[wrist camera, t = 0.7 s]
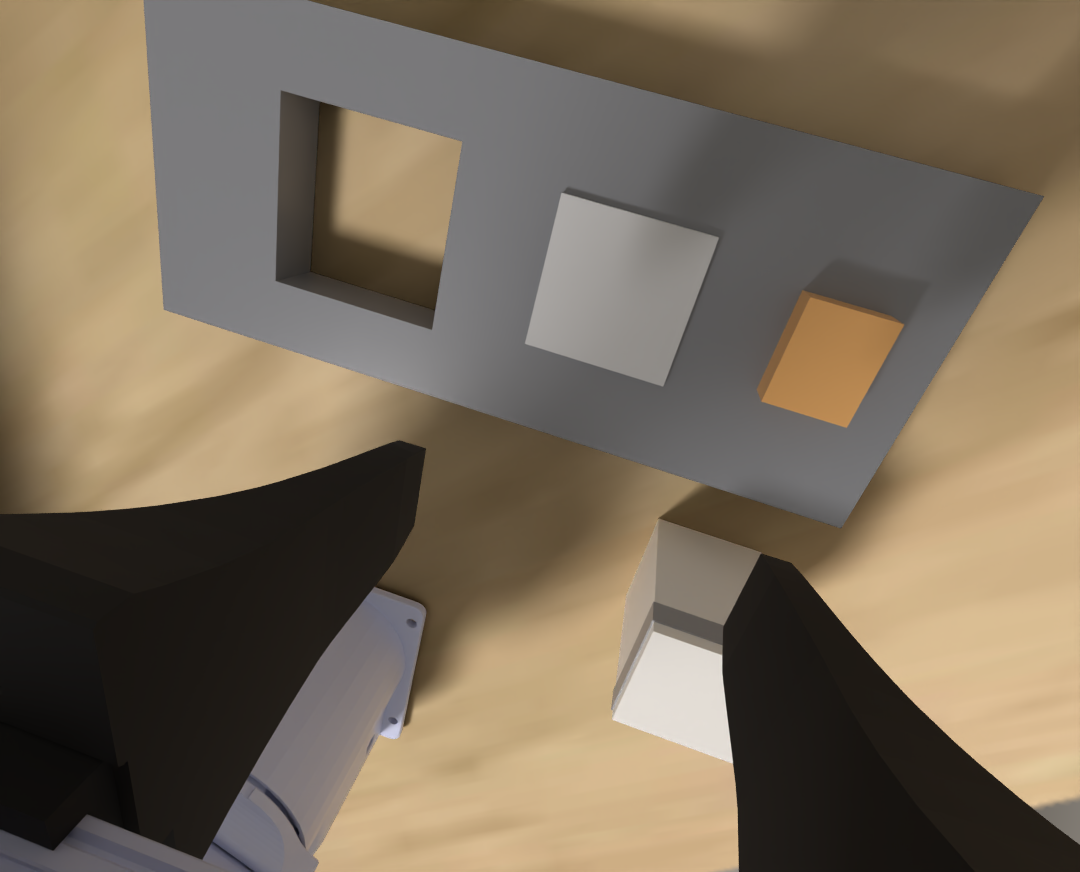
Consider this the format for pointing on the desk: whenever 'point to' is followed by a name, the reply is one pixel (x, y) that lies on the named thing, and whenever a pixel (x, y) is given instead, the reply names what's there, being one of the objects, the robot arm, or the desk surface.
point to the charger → (680, 638)
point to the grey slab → (577, 248)
